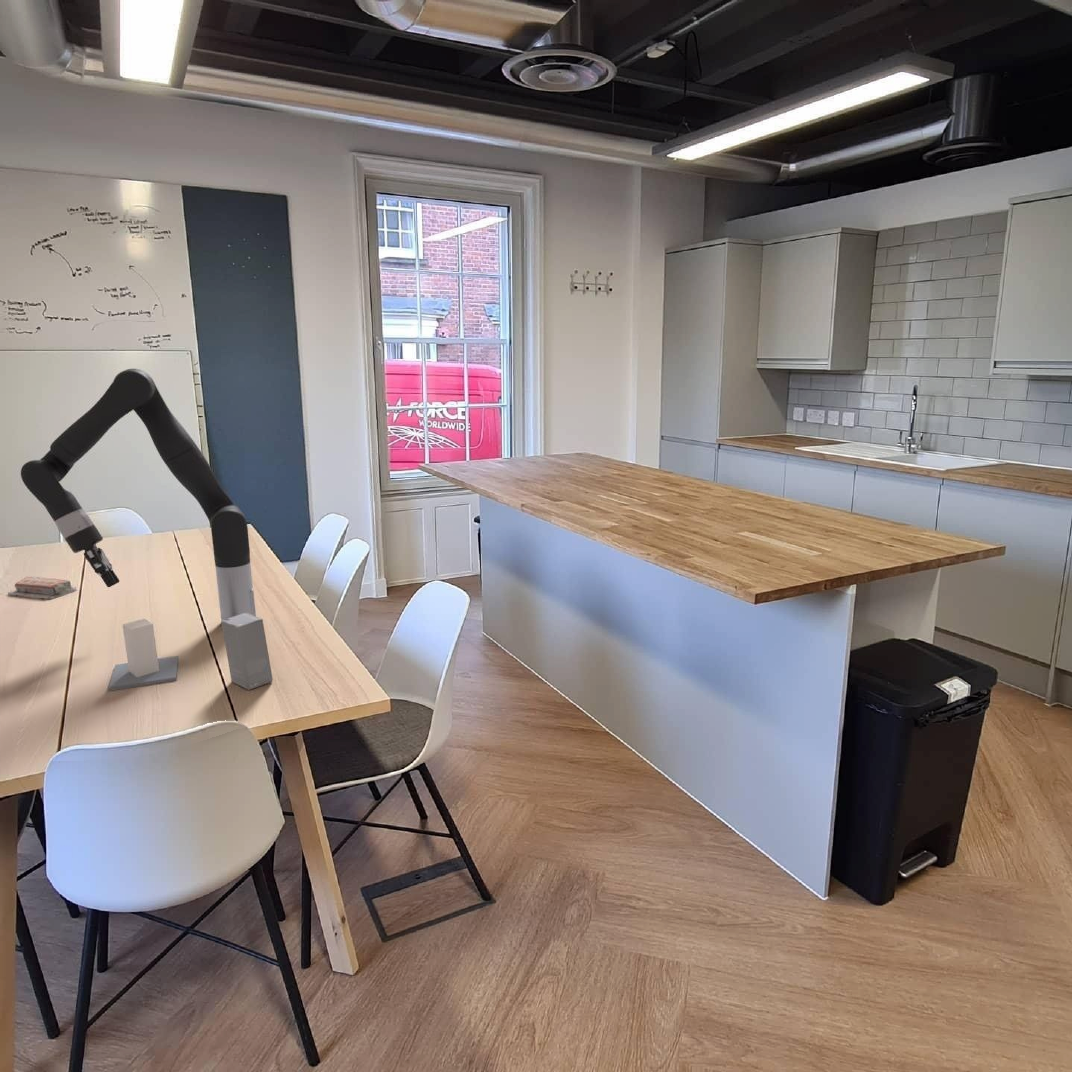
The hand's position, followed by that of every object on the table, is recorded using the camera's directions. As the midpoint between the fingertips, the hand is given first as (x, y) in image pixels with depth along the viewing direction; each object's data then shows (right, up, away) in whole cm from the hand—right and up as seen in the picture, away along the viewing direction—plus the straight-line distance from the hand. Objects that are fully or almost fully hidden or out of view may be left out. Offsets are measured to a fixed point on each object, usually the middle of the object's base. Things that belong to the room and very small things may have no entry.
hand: (114, 584), depth 199 cm
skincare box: (+43, -22, -21) cm, 53 cm away
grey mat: (+16, -20, -16) cm, 31 cm away
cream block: (+16, -20, -16) cm, 30 cm away
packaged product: (-49, -6, +47) cm, 68 cm away
